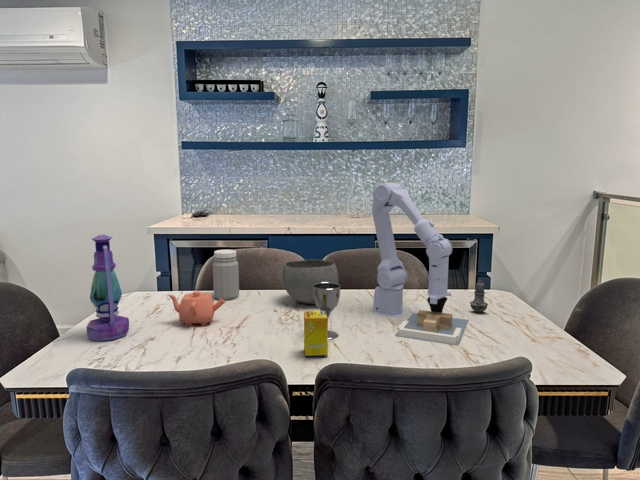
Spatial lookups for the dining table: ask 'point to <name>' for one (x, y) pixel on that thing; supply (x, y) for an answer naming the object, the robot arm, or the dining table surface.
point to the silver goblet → (327, 299)
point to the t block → (434, 321)
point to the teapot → (196, 308)
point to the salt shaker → (479, 298)
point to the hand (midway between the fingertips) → (436, 320)
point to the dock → (428, 334)
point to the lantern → (105, 295)
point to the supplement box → (315, 334)
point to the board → (455, 324)
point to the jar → (225, 275)
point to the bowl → (307, 277)
